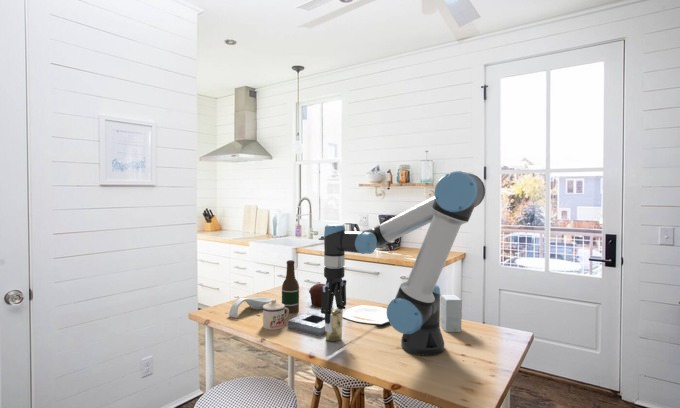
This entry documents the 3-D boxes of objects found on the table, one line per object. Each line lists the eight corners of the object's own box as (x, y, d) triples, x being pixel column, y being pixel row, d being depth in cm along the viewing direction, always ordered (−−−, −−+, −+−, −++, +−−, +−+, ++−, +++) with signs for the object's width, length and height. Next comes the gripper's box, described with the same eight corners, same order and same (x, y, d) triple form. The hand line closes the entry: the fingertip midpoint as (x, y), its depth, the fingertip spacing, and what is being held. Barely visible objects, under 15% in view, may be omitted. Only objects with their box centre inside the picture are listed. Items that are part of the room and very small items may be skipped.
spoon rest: (258, 302, 190) (258, 288, 190) (277, 306, 185) (277, 291, 184) (223, 316, 169) (223, 300, 169) (243, 320, 164) (243, 304, 164)
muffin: (336, 303, 188) (336, 283, 188) (324, 309, 179) (324, 288, 178) (317, 300, 194) (317, 280, 194) (303, 305, 185) (304, 285, 185)
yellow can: (344, 336, 141) (345, 310, 141) (336, 342, 136) (336, 315, 136) (331, 333, 144) (331, 307, 144) (322, 338, 139) (322, 312, 139)
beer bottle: (302, 312, 175) (302, 260, 174) (291, 316, 168) (291, 263, 167) (289, 309, 179) (289, 258, 178) (278, 313, 172) (278, 261, 172)
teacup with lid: (271, 334, 148) (271, 304, 148) (257, 328, 154) (257, 299, 154) (295, 326, 157) (295, 298, 156) (281, 320, 163) (281, 294, 163)
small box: (461, 332, 151) (462, 299, 151) (445, 332, 151) (446, 300, 151) (454, 325, 159) (455, 294, 159) (439, 325, 159) (440, 294, 159)
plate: (383, 331, 153) (383, 326, 153) (334, 321, 164) (334, 316, 164) (403, 315, 173) (403, 311, 173) (358, 307, 184) (358, 303, 184)
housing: (340, 327, 155) (340, 317, 155) (320, 338, 144) (320, 328, 144) (309, 320, 164) (309, 311, 164) (287, 330, 152) (287, 320, 152)
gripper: (339, 261, 149) (339, 319, 150) (310, 269, 133) (310, 334, 134) (356, 263, 145) (355, 323, 146) (328, 272, 129) (327, 339, 130)
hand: (333, 328), depth 140 cm, fingers closed on yellow can, 6 cm apart
